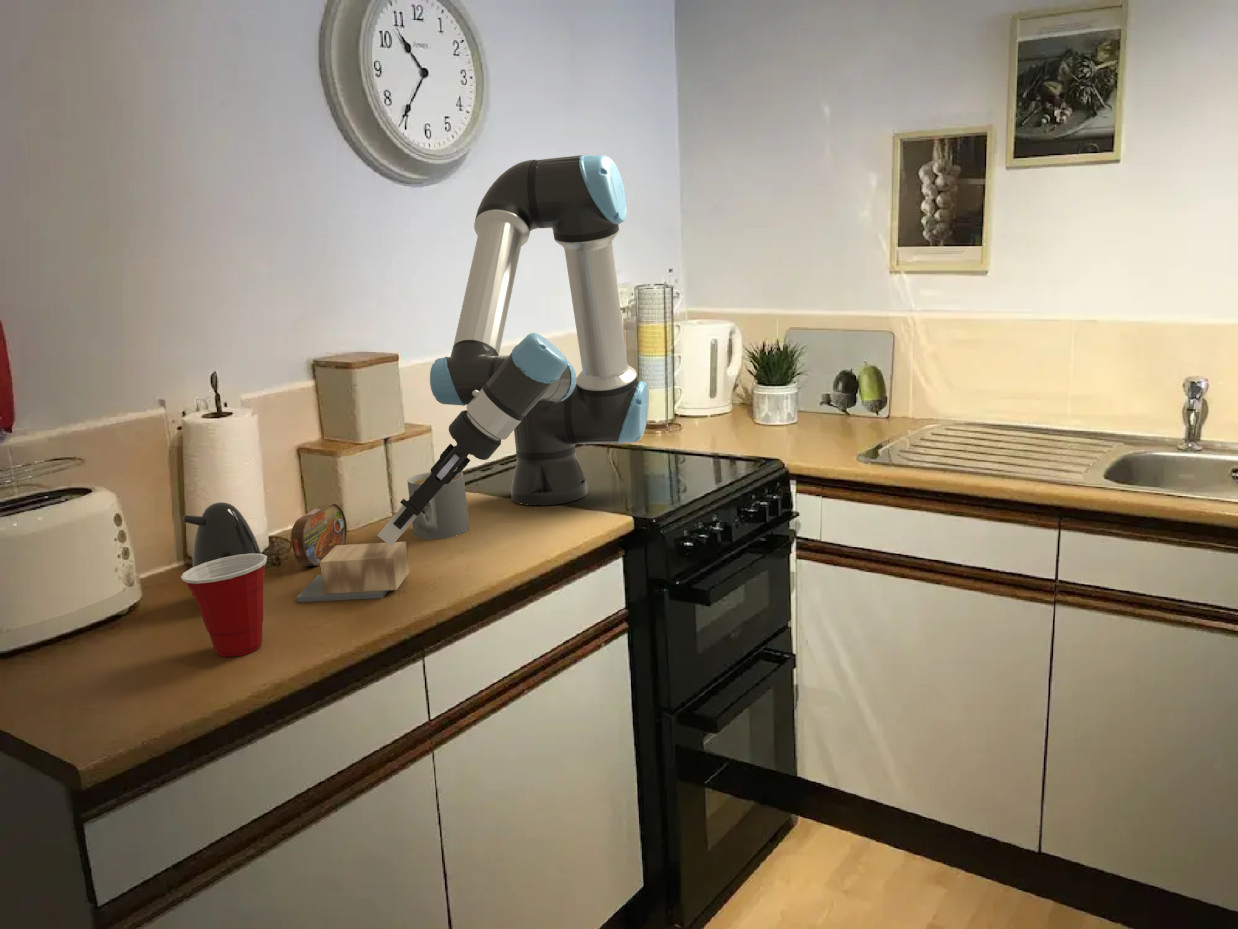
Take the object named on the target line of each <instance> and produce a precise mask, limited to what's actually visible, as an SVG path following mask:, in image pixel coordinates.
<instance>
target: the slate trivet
mask: <svg viewBox="0 0 1238 929" xmlns="http://www.w3.org/2000/svg"><path fill="white" fill-rule="evenodd" d="M388 592H389V590H383V591H364V592H345V593H325V594H324V587H323V580H322V574H317V575H316V577H314V579H313V580H312V581H311V582H310V583H309V584H308V585H307V586H306V587H304V589H302V591H301V592H300V593H298V595H297V596H296V602H297V603H310V602H330V601H349V600H350V601H352V600H366V599H367V600H368V599H383V598H384V597H385V595H386V594H387V593H388Z"/></svg>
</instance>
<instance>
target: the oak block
mask: <svg viewBox="0 0 1238 929" xmlns="http://www.w3.org/2000/svg"><path fill="white" fill-rule="evenodd" d="M319 566H320V571H321V575H322V580H323V587H324V594H325V593H345V592H364V591H383V590H388V591H397V590H398V589H399V587H400V586H401V584H402V583H403V582H404V580H405V579H406V578H407V577H408V575H409V574H410V566H409V558H408V550H407V542H406V541H396V542H395V543H394V544H393V545H392V546H390V545H389V544H387V543H386V542H374V543H372V542H371V543H359V544H358V543H356V544H355V543H354V544H353V543H352V544H344V545H336V546H335V547H334V548H333V549H332V550H331V551H330V552H329V553H328V554H327V555H326V556H325V557H324V558H323V559H322V560H321V561H320V565H319Z"/></svg>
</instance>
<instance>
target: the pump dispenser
mask: <svg viewBox="0 0 1238 929" xmlns="http://www.w3.org/2000/svg"><path fill="white" fill-rule="evenodd" d="M182 521H183V522H184V523H188V524H191V525H195V526H197V527H196V531H195V535H194V542H193V546H192V548H193V549H192V568H193V567H195V566H198V565H200V564H203V563H206V562H209V561H213V560H216V559H220V558H224V557H229V556H234V555H242V554H251V553H252V554H262V552H261V549H260V547H259V546H260V545H259V544H258V540H257V539H256V536H255V534H254V532H253V531H252V530H253V529H252V528H251V526H250V525H249V523H248V522H247V520H246V519H245V517H244V516H243V514H242V513H241V511H239V509H237V508H236V507H235V506H234V505H233V504H230V503H228V502H225V501H224V502H223V501H220V502H215V503H212V504H210V505H209V506H206V508H205V509H204V511H203V512H202V514H201V516H200V515H189V514H186V515H183V518H182ZM264 569H265V570H266V567H265V568H264Z"/></svg>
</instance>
